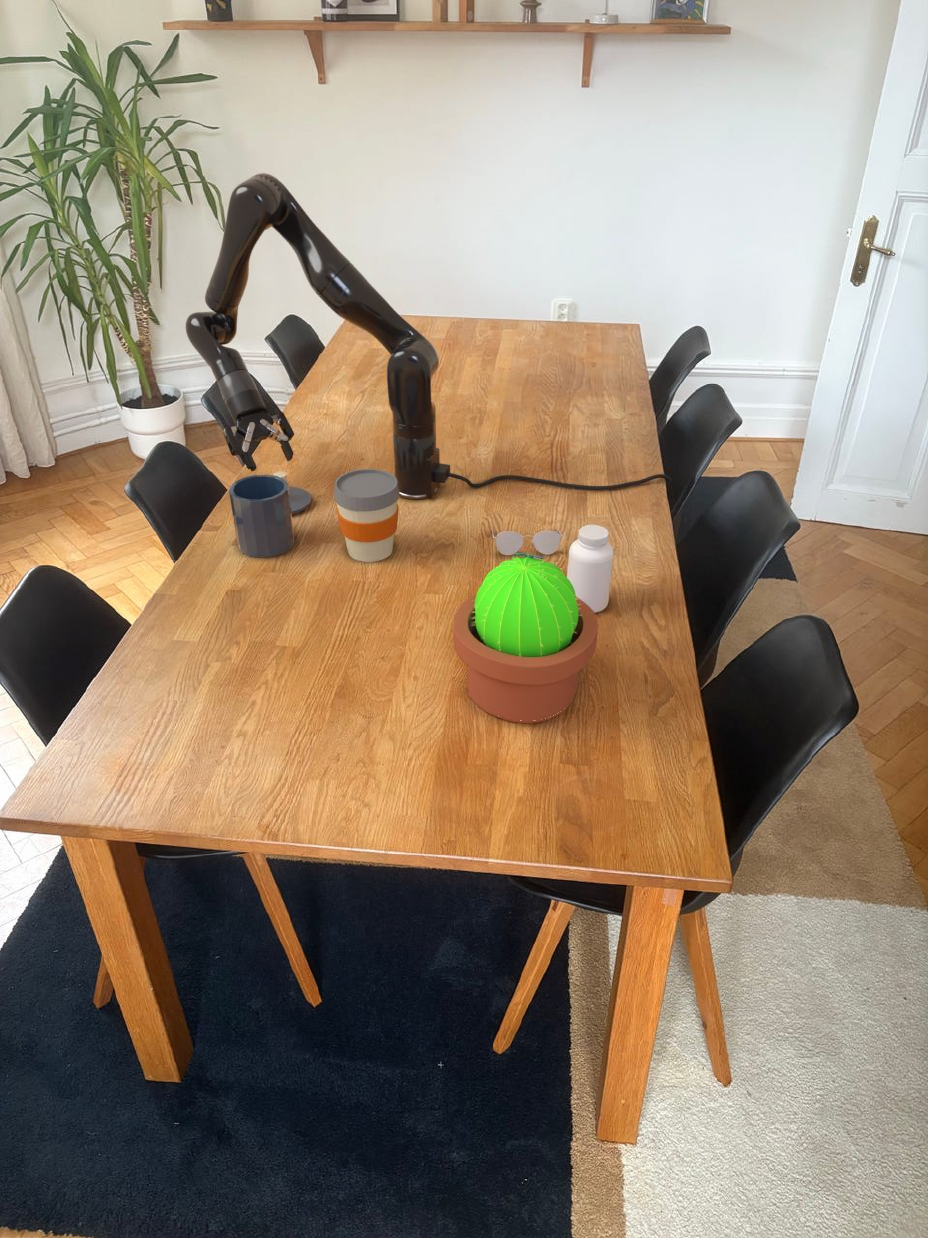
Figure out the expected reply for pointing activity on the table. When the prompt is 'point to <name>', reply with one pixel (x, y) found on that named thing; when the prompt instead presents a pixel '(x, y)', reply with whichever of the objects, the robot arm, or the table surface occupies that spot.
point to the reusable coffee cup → (367, 512)
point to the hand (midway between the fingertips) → (272, 464)
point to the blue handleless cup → (262, 515)
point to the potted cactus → (524, 640)
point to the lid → (296, 495)
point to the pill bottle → (591, 566)
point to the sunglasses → (542, 541)
